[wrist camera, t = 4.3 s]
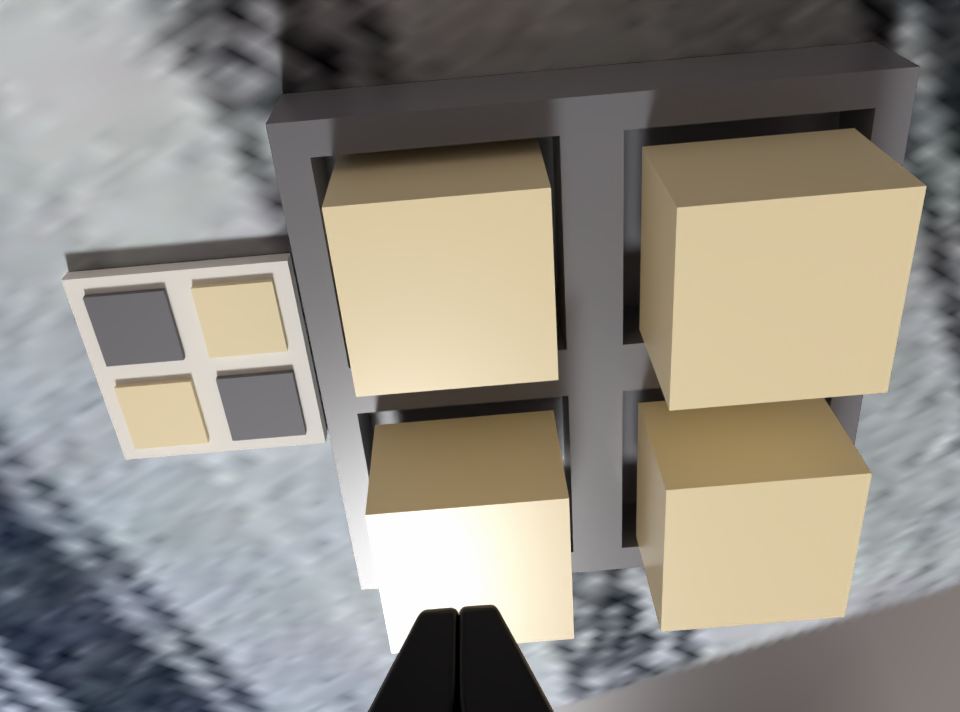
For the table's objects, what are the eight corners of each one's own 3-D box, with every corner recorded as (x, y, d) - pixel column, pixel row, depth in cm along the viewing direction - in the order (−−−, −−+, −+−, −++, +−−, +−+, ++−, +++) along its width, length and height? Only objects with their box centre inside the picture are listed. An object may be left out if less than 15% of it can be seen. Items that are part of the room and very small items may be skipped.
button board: (367, 535, 25) (361, 589, 23) (281, 94, 18) (265, 124, 17) (808, 498, 25) (835, 550, 23) (875, 41, 18) (919, 66, 17)
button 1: (636, 536, 22) (660, 631, 20) (638, 403, 20) (666, 490, 18) (798, 522, 22) (844, 617, 20) (817, 388, 20) (871, 473, 18)
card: (130, 449, 23) (123, 463, 22) (67, 271, 20) (59, 283, 20) (327, 433, 23) (325, 446, 22) (290, 253, 20) (286, 263, 20)
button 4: (367, 322, 20) (356, 397, 18) (338, 150, 18) (321, 207, 16) (544, 307, 20) (558, 379, 18) (536, 133, 18) (551, 187, 16)
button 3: (639, 329, 19) (669, 410, 17) (642, 147, 17) (677, 207, 15) (828, 312, 19) (887, 392, 17) (854, 128, 17) (926, 186, 15)
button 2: (397, 555, 22) (391, 653, 20) (374, 424, 20) (364, 515, 18) (559, 542, 22) (573, 639, 20) (553, 410, 20) (569, 498, 18)
